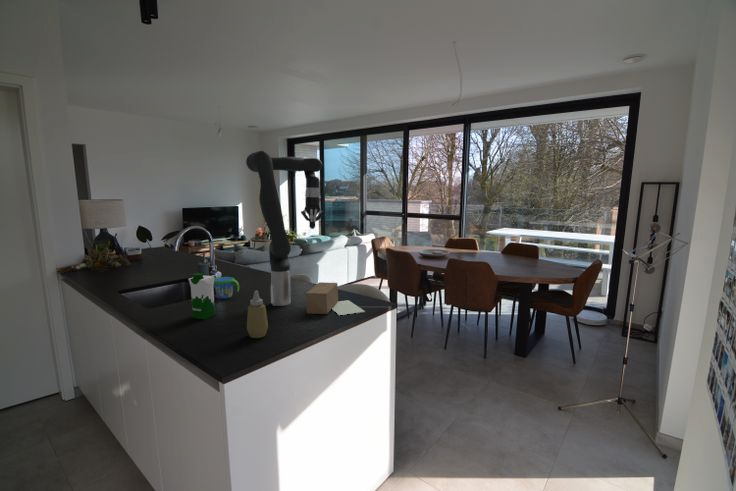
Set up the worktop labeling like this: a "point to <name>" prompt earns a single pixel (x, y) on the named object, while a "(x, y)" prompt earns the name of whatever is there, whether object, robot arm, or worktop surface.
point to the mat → (346, 308)
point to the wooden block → (321, 298)
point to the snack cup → (224, 287)
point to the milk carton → (202, 296)
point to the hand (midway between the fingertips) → (312, 228)
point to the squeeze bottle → (257, 317)
